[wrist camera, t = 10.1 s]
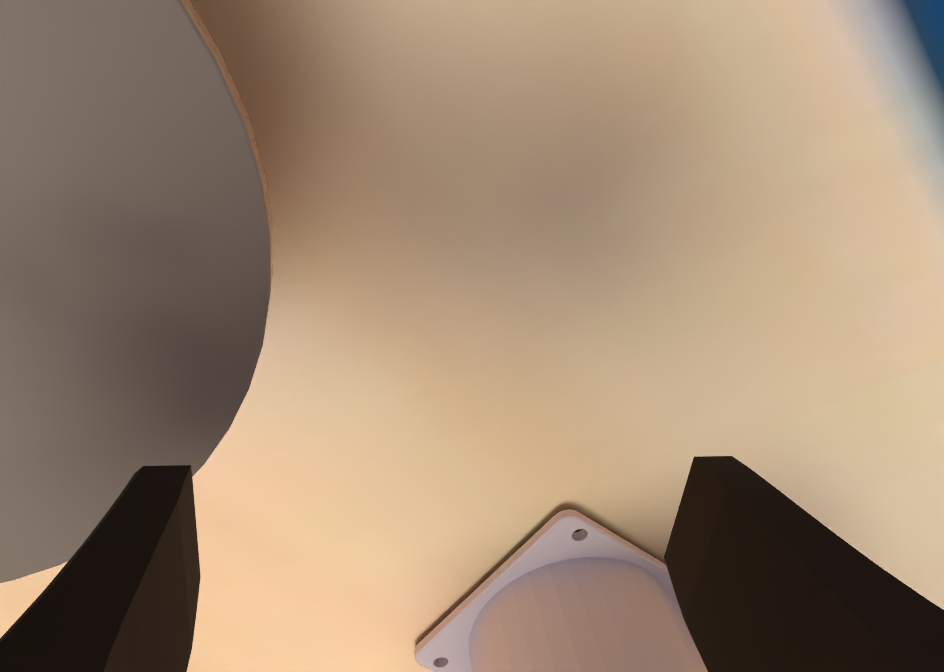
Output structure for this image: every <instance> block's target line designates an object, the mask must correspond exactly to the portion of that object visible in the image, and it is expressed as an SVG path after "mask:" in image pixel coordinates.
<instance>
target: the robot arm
mask: <svg viewBox="0 0 944 672" xmlns="http://www.w3.org/2000/svg"><path fill="white" fill-rule="evenodd" d="M578 529H582V530H581V531H579V532H575V533H574V531H576V530H578ZM664 559H665V562H666V564H664V563H663V562H661V561H659V560H658V559H656V558H654V557H653V556H651V555H649V554H648V553H646V552H644V551H643V550H641V549H639V548H638V547H636V546H634V545H633V544H631V543H629V542H628V541H626V540H624V539H622V538H621V537H619V536H617V535H616V534H614V533H612V532H611V531H609V530H607V529H606V528H604V527H602V526H601V525H599V524H597V523H596V522H594V521H592V520H591V519H589V518H587V517H586V516H584V515H582V514H581V513H579V512H577V511H575V510H572V509H570V510H563V511H560V512H559V513H557V514H556V515H555V516H553V517H552V518H551V519H550V520H549V521H548V522H547V523H546V524H545V525H544V526H543V527H542V528H541V529H540V530H539V531H537V532H536V533H535V534H534V535H533V536H532V537H531V538H530V539H529V540H528V541H527V542H526V543H525V544H524V545H523V546H522V547H520V548H519V549H518V550H517V551H516V552H515V553H514V554H513V555H512V556H511V557H510V558H509V559H508V560H507V561H506V562H504V563H503V564H502V565H501V566H500V567H499V568H498V569H497V570H496V571H495V572H494V573H493V574H492V575H491V576H490V577H489V578H487V579H486V580H485V581H484V582H483V583H482V584H481V585H480V586H479V587H478V588H477V589H476V590H475V591H474V592H473V593H471V594H470V595H469V596H468V597H467V598H466V599H465V600H464V601H463V602H462V603H461V604H460V605H459V606H458V607H457V608H456V609H454V610H453V611H452V612H451V613H450V614H449V615H448V616H447V617H446V618H445V619H444V620H443V621H442V622H441V623H440V624H438V625H437V626H436V627H435V628H434V629H433V630H432V631H431V632H430V633H429V634H428V635H427V636H426V637H425V638H424V639H423V640H421V641H420V642H419V643H418V644H417V646H416V647H415V650H414V653H415V660H416V662H417V663H418V664H420V665H422V666H424V667H427V668H429V669H431V670H434V671H436V672H944V610H943V609H941V608H939V607H938V606H936V605H935V604H933V603H932V602H930V601H929V600H927V599H926V598H924V597H923V596H921V595H920V594H918V593H917V592H916V591H914V590H913V589H911V588H910V587H908V586H907V585H905V584H904V583H902V582H901V581H899V580H898V579H897V578H895V577H894V576H892V575H891V574H889V573H888V572H886V571H885V570H884V569H882V568H881V567H879V566H878V565H877V564H875V563H874V562H872V561H871V560H870V559H868V558H867V557H866V556H864V555H863V554H861V553H860V552H859V551H857V550H856V549H855V548H853V547H852V546H851V545H849V544H848V543H847V542H845V541H844V540H843V539H841V538H840V537H839V536H837V535H836V534H835V533H833V532H832V531H831V530H829V529H828V528H827V527H825V526H824V525H823V524H821V523H820V522H819V521H818V520H816V519H815V518H814V517H812V516H811V515H810V514H808V513H807V512H806V511H805V510H803V509H802V508H801V507H799V506H798V505H797V504H796V503H794V502H793V501H792V500H790V499H789V498H788V497H787V496H785V495H784V494H783V493H781V492H780V491H779V490H777V489H776V488H775V487H774V486H772V485H771V484H770V483H768V482H767V481H766V480H764V479H763V478H762V477H760V476H759V475H758V474H756V473H755V472H754V471H752V470H751V469H750V468H748V467H747V466H745V465H744V464H743V463H741V462H740V461H738V460H737V459H735V458H734V457H732V456H712V457H694V459H693V462H692V465H691V469H690V472H689V475H688V479H687V482H686V486H685V489H684V492H683V496H682V499H681V502H680V506H679V509H678V512H677V516H676V519H675V522H674V526H673V529H672V532H671V536H670V539H669V542H668V546H667V549H666V552H665V556H664ZM199 584H200V566H199V554H198V542H197V530H196V518H195V506H194V494H193V482H192V469H191V465H168V466H142V467H141V468H140V469H139V470H138V471H137V472H135V473H134V475H133V476H132V478H131V479H130V481H129V482H128V484H127V485H126V487H125V488H124V489H123V491H122V492H121V494H120V495H119V496H118V498H117V499H116V501H115V502H114V503H113V505H112V506H111V507H110V509H109V510H108V512H107V513H106V514H105V516H104V517H103V518H102V520H101V521H100V522H99V523H98V525H97V526H96V527H95V529H94V530H93V531H92V533H91V534H90V535H89V536H88V538H87V539H86V540H85V542H84V543H83V544H82V545H81V546H80V548H79V549H78V550H77V551H76V553H75V554H74V555H73V556H72V557H71V559H70V560H69V561H68V562H67V564H66V565H65V566H64V567H63V568H62V570H61V571H60V572H59V573H58V575H57V576H56V577H55V578H54V579H53V581H52V582H51V583H50V584H49V585H48V586H47V588H46V589H45V590H44V591H43V592H42V593H41V595H40V596H39V597H38V598H37V599H36V600H35V601H34V602H33V603H32V604H31V606H30V607H29V608H28V609H27V610H26V611H25V612H24V613H23V614H22V615H21V617H20V618H19V619H18V620H17V621H16V622H15V623H14V624H13V625H12V626H11V627H10V629H9V630H8V631H7V632H6V633H5V634H4V635H3V636H2V637H1V638H0V672H186V671H187V667H188V663H189V658H190V654H191V649H192V643H193V635H194V627H195V619H196V610H197V602H198V593H199ZM440 657H441V658H440Z"/></svg>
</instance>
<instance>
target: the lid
mask: <svg viewBox="0 0 944 672" xmlns="http://www.w3.org/2000/svg"><path fill="white" fill-rule="evenodd" d="M272 274H273V268H272V218H271V212H270V205H269V198H268V192H267V185H266V178H265V171H264V168H263V164H262V161H261V157H260V154H259V150H258V147H257V143H256V140H255V137H254V133H253V130H252V126H251V123H250V119H249V116H248V113H247V111H246V109H245V106H244V104H243V102H242V99H241V97H240V95H239V92H238V90H237V88H236V86H235V83H234V81H233V79H232V76H231V74H230V72H229V69H228V67H227V65H226V63H225V60H224V58H223V56H222V54H221V52H220V51H219V49H218V47H217V45H216V44H215V42H214V40H213V39H212V37H211V35H210V33H209V32H208V30H207V28H206V27H205V25H204V23H203V21H202V20H201V18H200V16H199V15H198V13H197V11H196V10H195V8H194V6H193V4H192V3H191V1H190V0H0V583H2V582H7V581H11V580H15V579H18V578H21V577H24V576H27V575H30V574H33V573H36V572H39V571H43V570H46V569H49V568H52V567H55V566H58V565H60V564H63V563H65V562H67V561H69V560H70V559H71V557H72V556H73V555H74V554H75V553H76V551H77V550H78V549H79V548H80V546H81V545H82V544H83V543H84V542H85V540H86V539H87V538H88V536H89V535H90V534H91V533H92V531H93V530H94V529H95V527H96V526H97V525H98V523H99V522H100V521H101V520H102V518H103V517H104V516H105V514H106V513H107V512H108V510H109V509H110V507H111V506H112V505H113V503H114V502H115V501H116V499H117V498H118V496H119V495H120V494H121V492H122V491H123V489H124V488H125V487H126V485H127V484H128V482H129V481H130V479H131V478H132V476H133V475H134V473H135V472H137V471H138V470H139V469H140V468H141V467H142V466H168V465H191V469H192V476H193V475H194V474H195V473H196V472H197V471H198V470H199V469H200V468H201V467H202V466H203V465H204V464H205V462H206V461H207V459H208V458H209V457H210V455H211V454H212V452H213V451H214V449H215V448H216V447H217V445H218V444H219V442H220V441H221V439H222V438H223V437H224V435H225V434H226V432H227V431H228V429H229V428H230V426H231V424H232V422H233V420H234V418H235V416H236V414H237V412H238V410H239V408H240V406H241V404H242V402H243V400H244V398H245V396H246V394H247V392H248V390H249V387H250V384H251V381H252V377H253V374H254V371H255V368H256V364H257V361H258V358H259V355H260V352H261V348H262V345H263V339H264V332H265V325H266V318H267V312H268V305H269V298H270V290H271V282H272Z"/></svg>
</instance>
